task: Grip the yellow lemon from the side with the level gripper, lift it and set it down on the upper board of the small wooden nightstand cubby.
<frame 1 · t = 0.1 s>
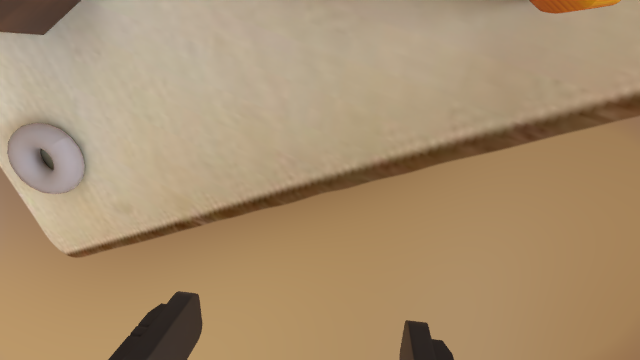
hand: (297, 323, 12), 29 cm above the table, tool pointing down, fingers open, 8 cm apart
donut: (59, 155, 46), on the table
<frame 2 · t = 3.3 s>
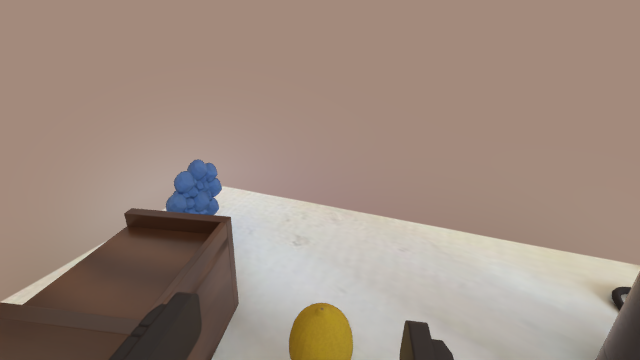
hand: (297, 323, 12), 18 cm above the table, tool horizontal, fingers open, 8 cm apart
grapes: (195, 234, 51), on the table
wooden nightstand cubby: (156, 353, 31), on the table
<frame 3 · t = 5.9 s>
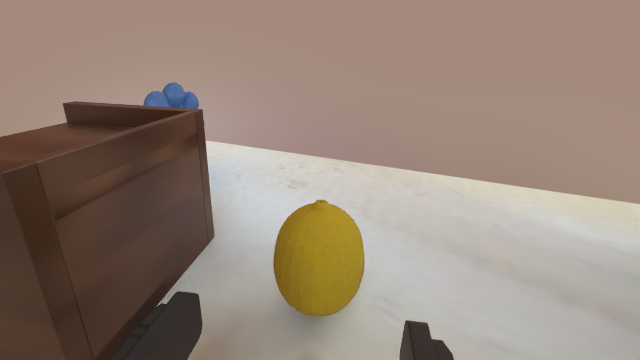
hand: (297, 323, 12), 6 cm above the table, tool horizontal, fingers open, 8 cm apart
grapes: (172, 177, 43), on the table
wooden nightstand cubby: (95, 283, 23), on the table
lemon: (316, 313, 21), on the table
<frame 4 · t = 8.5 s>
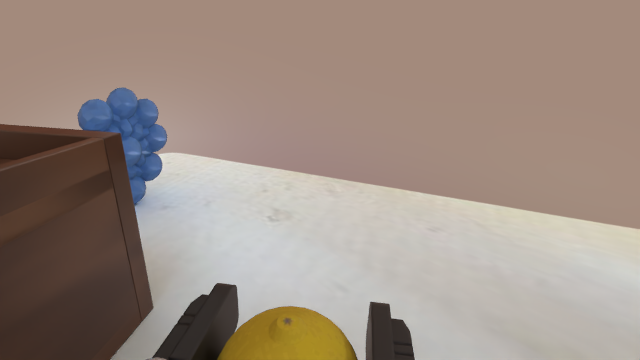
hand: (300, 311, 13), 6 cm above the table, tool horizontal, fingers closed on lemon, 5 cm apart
grapes: (125, 204, 35), on the table
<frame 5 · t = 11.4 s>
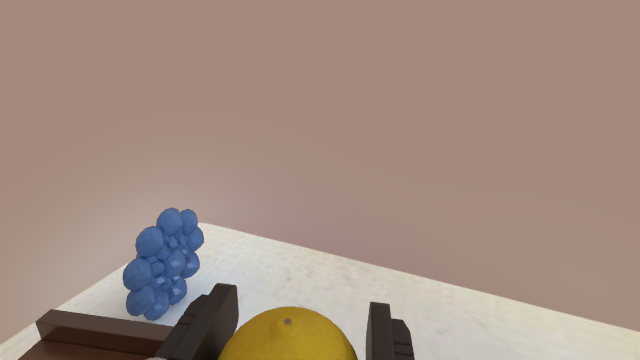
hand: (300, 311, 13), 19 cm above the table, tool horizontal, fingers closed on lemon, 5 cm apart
grapes: (168, 301, 39), on the table
when the fingers open (16 cm above the table, at t = 14.8 s): lemon stays where it is, resting on wooden nightstand cubby.
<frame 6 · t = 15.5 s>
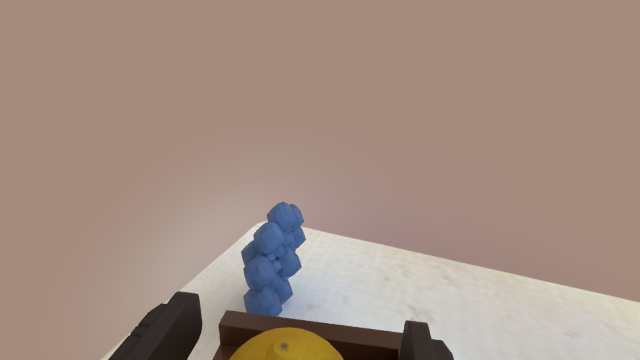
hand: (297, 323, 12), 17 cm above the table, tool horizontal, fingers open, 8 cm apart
grapes: (270, 302, 37), on the table
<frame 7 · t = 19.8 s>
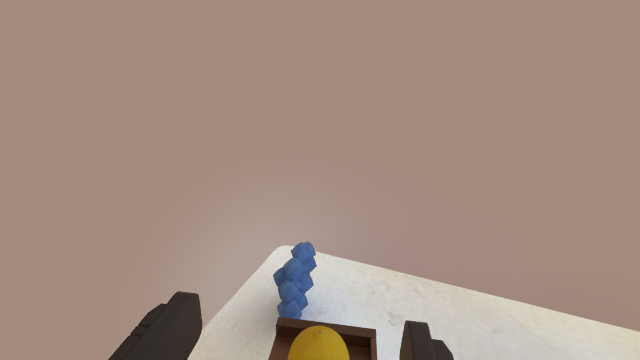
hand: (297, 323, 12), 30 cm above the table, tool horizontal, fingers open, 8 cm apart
grapes: (292, 309, 54), on the table
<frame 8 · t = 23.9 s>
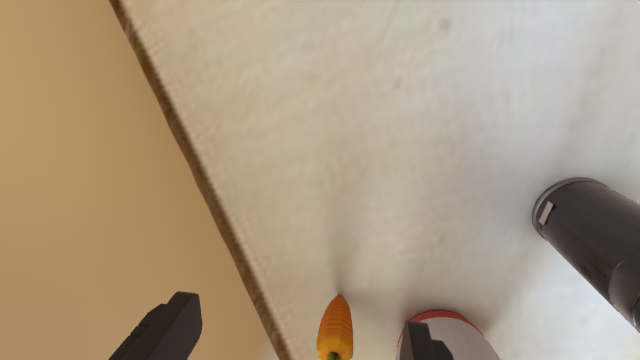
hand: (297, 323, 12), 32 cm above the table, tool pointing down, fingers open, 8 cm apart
carrot: (340, 294, 51), on the table
citrus juicer: (442, 337, 52), on the table
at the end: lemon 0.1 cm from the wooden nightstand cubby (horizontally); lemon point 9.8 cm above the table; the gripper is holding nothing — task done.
